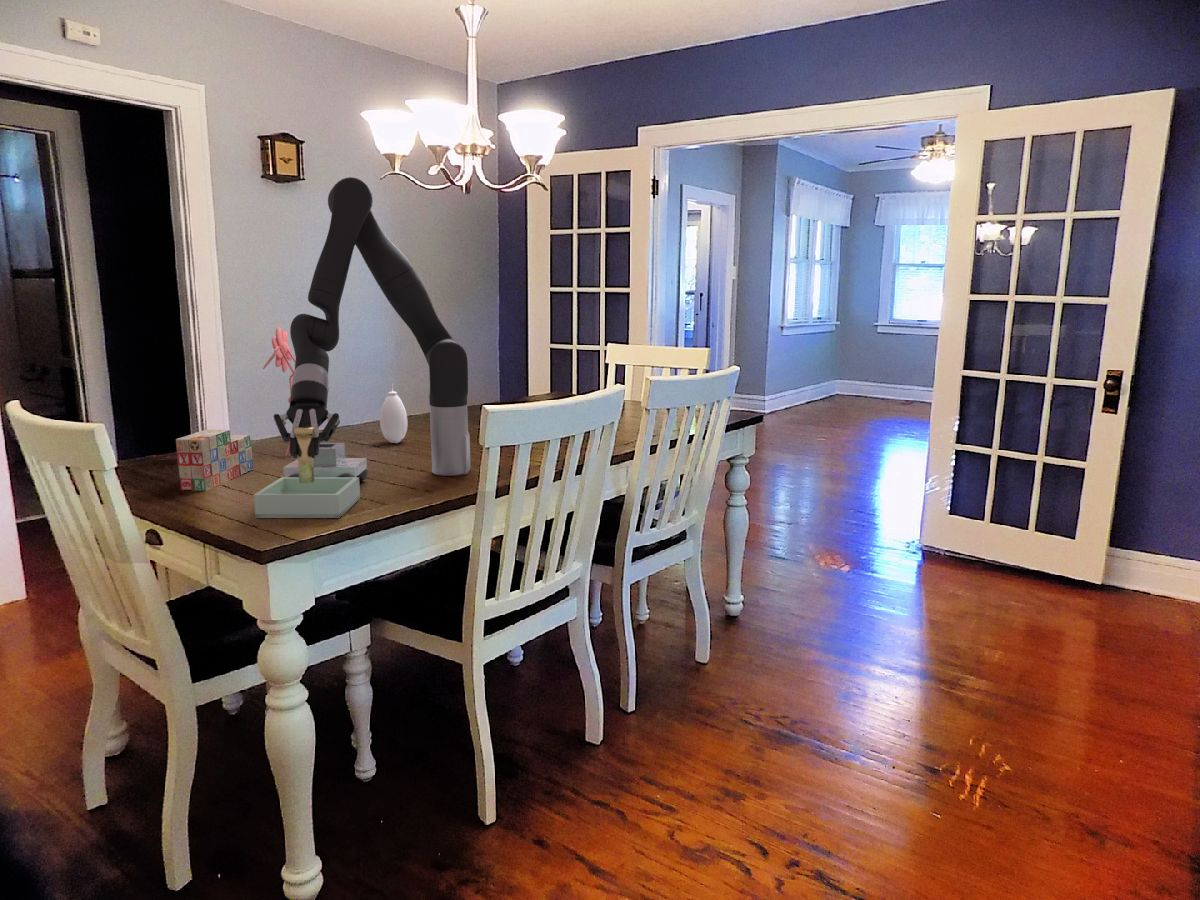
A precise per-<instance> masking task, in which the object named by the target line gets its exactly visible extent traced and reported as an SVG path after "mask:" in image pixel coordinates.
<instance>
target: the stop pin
mask: <svg viewBox="0 0 1200 900" xmlns="http://www.w3.org/2000/svg"><path fill="white" fill-rule="evenodd" d="M314 433H315V427H313V426H312V427H311V426H299V427H294V428H293V434H294V435H297V450H298V457H297V459H298V468H299V482H300V483H312V482H314V464H313V458H311V454H310V450H311V439H312V438H313V434H314Z"/></svg>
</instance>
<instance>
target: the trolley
mask: <svg viewBox="0 0 1200 900" xmlns="http://www.w3.org/2000/svg"><path fill="white" fill-rule="evenodd" d="M313 464H314V477H359V483H361V482H363V481H364V480H366V478H367V477H368V475H369V470H368V465H367V464H368V463H367V457H346V447H345V442H320V444H319V454H318V455H315V458H313ZM282 468H283V477H299V468H298V458H295V460H294V461H292V462H290V463H288V464H286V465H284V466H283V467H282Z"/></svg>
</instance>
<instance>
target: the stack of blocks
mask: <svg viewBox="0 0 1200 900" xmlns="http://www.w3.org/2000/svg"><path fill="white" fill-rule="evenodd" d="M251 443H252V442H251V435H249V434H231V432H230V429H204V430H200V431H196V432H194V433H191V434H189V435H185V436H182V437H179V438H176V439H175V445H176V457H177V458H176V460H177V466H178V474H179V484H180V491H184V490H192V491H191V492H193V491H194V492H207V491H209V489H210V490H212V489H214V487H215V488H217V487H219V486H221V485H220V484H222V483H224V482H226V483H228V482H229V481H228V480H230V481H232V480H234V479H236V478H235V477H237V476H239V475H241V476H243V475H242V474H243V473H246V472H247V471H250V470H252V469H253V470H254V464H253V463H254V462H253V451H252V449H253V448H252V444H251ZM250 472H251V471H250ZM246 474H247V473H246ZM239 477H240V476H239ZM233 478H234V479H233ZM237 478H238V477H237ZM231 479H232V480H231ZM227 481H228V482H227ZM224 484H225V483H224ZM218 485H219V486H218ZM222 485H223V484H222ZM216 486H217V487H216ZM211 488H212V489H211Z"/></svg>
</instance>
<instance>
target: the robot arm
mask: <svg viewBox="0 0 1200 900" xmlns="http://www.w3.org/2000/svg"><path fill="white" fill-rule="evenodd" d="M373 202H374V197H373V193H372V191H371V188H370V187H369V185H368V184H367V183H366V182H364V181H363V180H362V179H360V178H357V177H354V176H353V177H351V176H350V177H344V178H343V179H341V180H339V181H337V182H336V183H335V184H334V186H333V187H332V188H331V190H330V191H329V193H328V197H327V205H328V209H329V211H330V213H331V216H330V217H331V219H330V223H329V228H328V232H327V236H326V240H325V242H324V244H323V245H324V246H323V248H322V249H321V253H320V254H319V255H320V256H319V257H318V260H317V263H316V267H315V269H314V273H313V276H312V280H311V284H310V287H309V291H308V294H307V301H308V302H309V303H310V304H311V305H313V306H315V308H318V309H320V310H321V311H323V313H324V316H325V319H324V318H320V317H317V316H314V315H311V314H309V313H299V314H298V315H296V316H295V317H294V318H292V321H291V323H290V327H289V328H290V331H289V332H290V339H291V342H292V343H291V344H292V346H293V350H294V356H295V360H296V362H294V370H293V371H294V375H293V377H292V378H291V381H292V388H291V392H290V396H291V397H290V396H289V397H290V403H289V407H288V409H287V410H286V413H283V414H279V413H275V414H273V419H274V423H275V425H276V427H277V429H278V432H279V434H280V436H281V438H282V440H283V442H285V443H288V442H289V444H290V448H289V451H290V452H289V453H290V454H289V455H290V456H291V457H293V459H298V450H297V435H294V434H293V428H294V427H299V426H311V427H312V426H313V427H315V433H314V434H312V439H311V450H310V454H311V458H315V455H318V454H319V444H320V443H322V442H329V440H330V439H331V438H332V436H333V435H334V432H335V431H336V429H337V428H338V426H339V425H340V422H341V421H340V416H339V413H337V412H335V413H329V410H328V395H329V390H330V387H329V368H330V357H329V354H328V353H327V352H331V351H333V350H334V349H335V348H336V347H337V345H338V344H339V340H340V320H339V318H340V304H341V300H342V296H343V294H344V289H345V285H346V282H347V277H348V274H349V273H348V272H349V269H350V264H351V260H352V257H353V253H354V250H355V249H354V248H355V247H356V248H357V249H358V251H359V252H360V255H361V257H362V259H363V260H364V262H365V265H366V266H367V267H368V270H369V271H370V273H371V275H372V277H373V278H374V279H375V281H376V283H377V286H379V288H380V290H381V292H382V293H383V295H384V296H385V299H387V301H388V302H389V304H390V305H391V307H392V309H394V310H395V312H396V313H397V315H398V316H399V318H400V319H401V320H402V321H403V322H404V323H405V325H407V327H408V328H409V330H410V331H411V333H412V334H413V336H414V337H415V340H416V341H417V343H418V345H419V347H420V349H421V351H422V353H423V356H424V357H425V361H426V362H427V365H428V366H429V368H428V369H429V395H428V396H429V397H428V399H429V400H428V401H429V421H430V423H429V424H430V427H429V428H430V449H431V473H432V474H433V475H437V476H446V477H447V476H461V475H468V474H469V472H470V471H471V441H470V440H471V436H470V432H469V426H468V424H469V422H468V415H469V414H468V394H469V366H468V365H469V364H468V363H469V362H468V361H469V360H468V354H467V352H466V350H465V348H464V347H463V346H462V345H461V344H460V343H458V342H457V341H456V340H455V339H454V338H453V336H452V335H451V334H450V333H449V331H448V330H447V329H446V327H445V326H444V325H443V323H442V321H441V320H440V319H439V317H438V315H437V312H436V311H435V309H434V306H433V303H432V301H431V298H430V296H429V294H428V291H427V289H426V288H425V286H424V283H423V281H422V280H421V278H420V277H419V274H418V273H417V272H416V269H415V268H414V267H413V265H412V264H411V262H410V260H409V259H408V258H407V256H405V254H404V253H403V252H402V251H401V250H400V249H399V248H398V247H397V246H396V245H395V244H394V243H393V241H391V240H390V239H389V238H388V236H387V235H386V234H385V232H384V231H383V229H382V228H381V226H380V225H379V223H378V221H377V219H376V218H375V215H374V213H373V211H372V207H373V205H374V204H373ZM287 420H289V422H290V423H291V424H292V427H291V428H292V429H291V431H290V432H288V431H287V428H286V425H287ZM326 420H327V424H326V425H325V426H324V428H323V430H322V432H320V429H319V428H320V426H322V425H323V424H324V423H325V422H326Z"/></svg>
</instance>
